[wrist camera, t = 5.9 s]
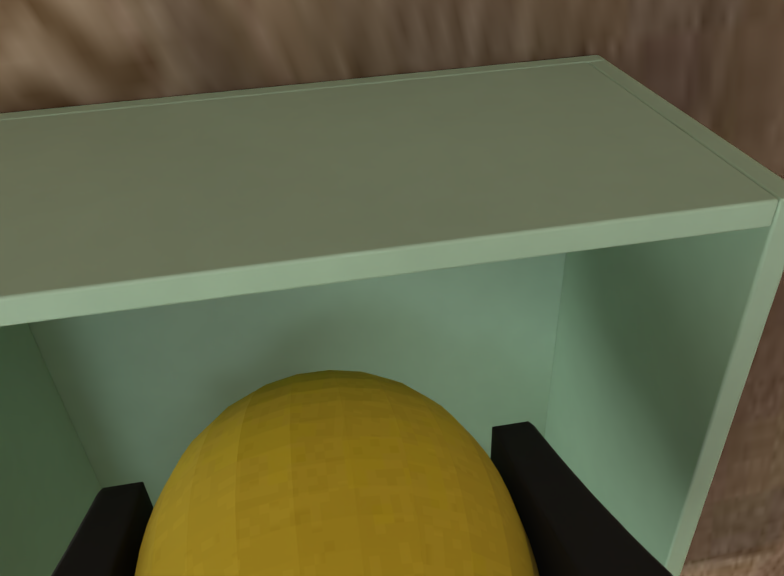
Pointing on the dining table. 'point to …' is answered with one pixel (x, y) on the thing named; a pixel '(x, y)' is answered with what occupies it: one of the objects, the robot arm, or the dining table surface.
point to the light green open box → (380, 277)
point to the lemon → (335, 489)
